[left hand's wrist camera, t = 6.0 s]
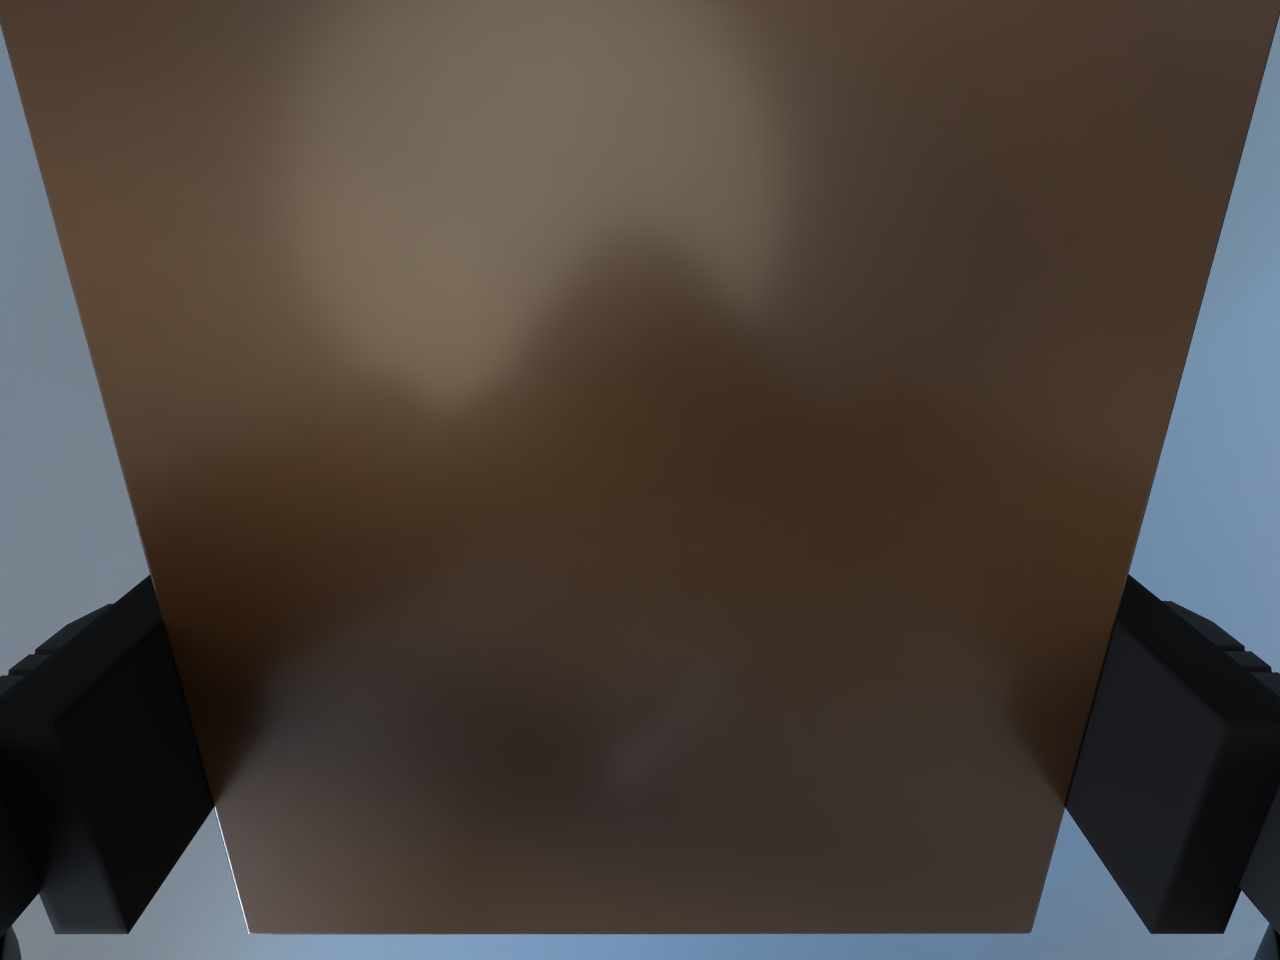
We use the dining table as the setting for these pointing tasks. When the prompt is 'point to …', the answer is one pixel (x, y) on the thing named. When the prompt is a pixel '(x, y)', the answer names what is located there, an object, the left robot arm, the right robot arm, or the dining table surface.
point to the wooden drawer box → (639, 428)
